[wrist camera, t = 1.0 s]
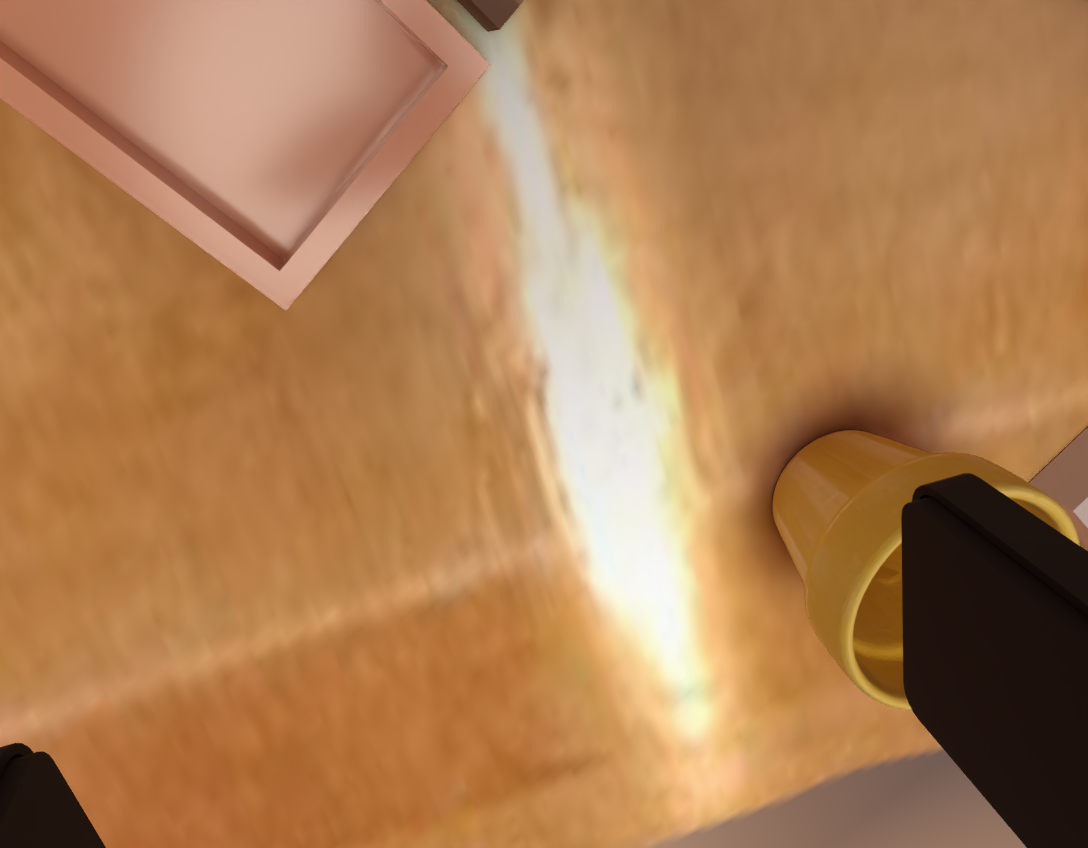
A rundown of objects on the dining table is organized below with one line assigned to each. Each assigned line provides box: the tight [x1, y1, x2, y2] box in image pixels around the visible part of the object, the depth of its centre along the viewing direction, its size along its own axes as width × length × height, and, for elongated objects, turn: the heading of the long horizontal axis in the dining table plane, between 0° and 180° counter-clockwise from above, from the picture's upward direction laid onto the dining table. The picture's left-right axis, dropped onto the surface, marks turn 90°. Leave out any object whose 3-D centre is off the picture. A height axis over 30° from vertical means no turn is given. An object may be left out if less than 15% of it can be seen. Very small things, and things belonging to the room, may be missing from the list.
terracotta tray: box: [0, 0, 491, 310], centre depth 27 cm, size 11×17×2 cm, turn 47°
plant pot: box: [773, 430, 1080, 710], centre depth 38 cm, size 10×10×10 cm
